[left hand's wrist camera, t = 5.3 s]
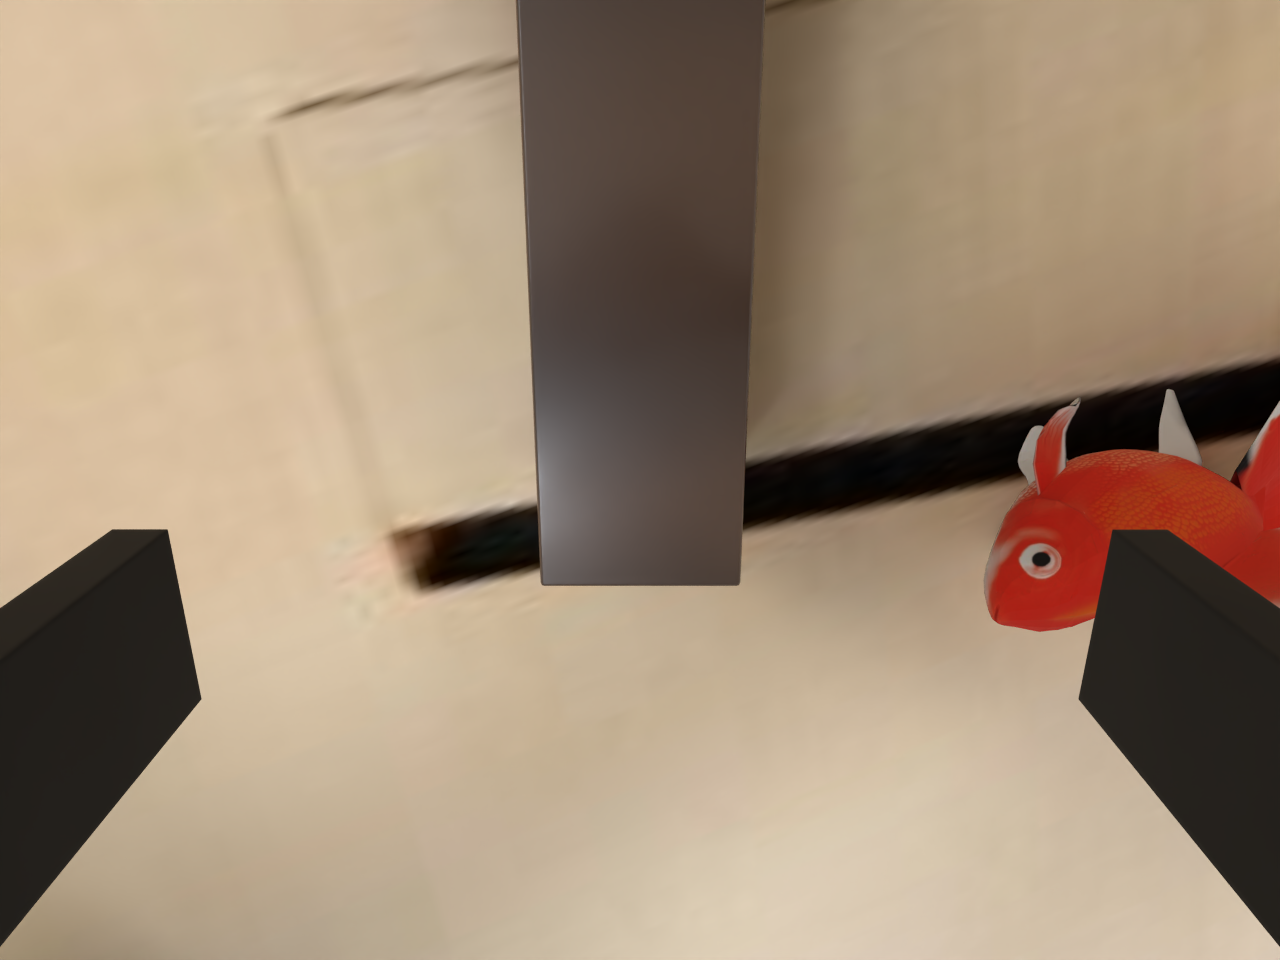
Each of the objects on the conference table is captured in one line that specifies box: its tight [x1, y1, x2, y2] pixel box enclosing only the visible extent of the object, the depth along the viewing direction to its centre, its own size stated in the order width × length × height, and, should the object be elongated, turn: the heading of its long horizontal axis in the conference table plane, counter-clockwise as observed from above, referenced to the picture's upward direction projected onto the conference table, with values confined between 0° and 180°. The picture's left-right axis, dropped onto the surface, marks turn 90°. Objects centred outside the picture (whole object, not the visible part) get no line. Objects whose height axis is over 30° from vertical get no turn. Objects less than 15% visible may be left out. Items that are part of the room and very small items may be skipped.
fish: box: [984, 389, 1280, 632], centre depth 25 cm, size 11×16×10 cm
